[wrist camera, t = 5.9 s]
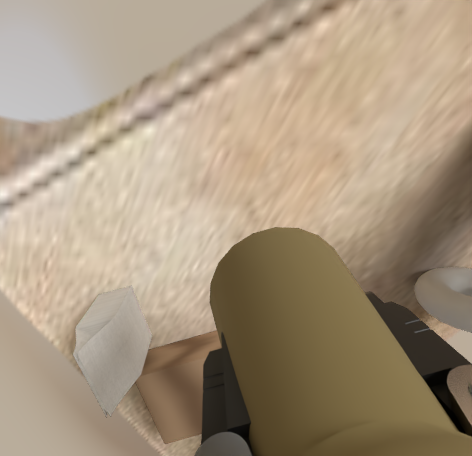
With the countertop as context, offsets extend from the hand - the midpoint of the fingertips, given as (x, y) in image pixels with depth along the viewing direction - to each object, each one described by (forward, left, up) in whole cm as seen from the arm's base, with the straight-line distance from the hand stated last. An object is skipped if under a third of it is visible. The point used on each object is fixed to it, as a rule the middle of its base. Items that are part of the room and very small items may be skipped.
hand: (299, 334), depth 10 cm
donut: (-20, +15, -22) cm, 33 cm away
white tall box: (+16, +9, -22) cm, 28 cm away
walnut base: (+11, +19, -21) cm, 31 cm away
